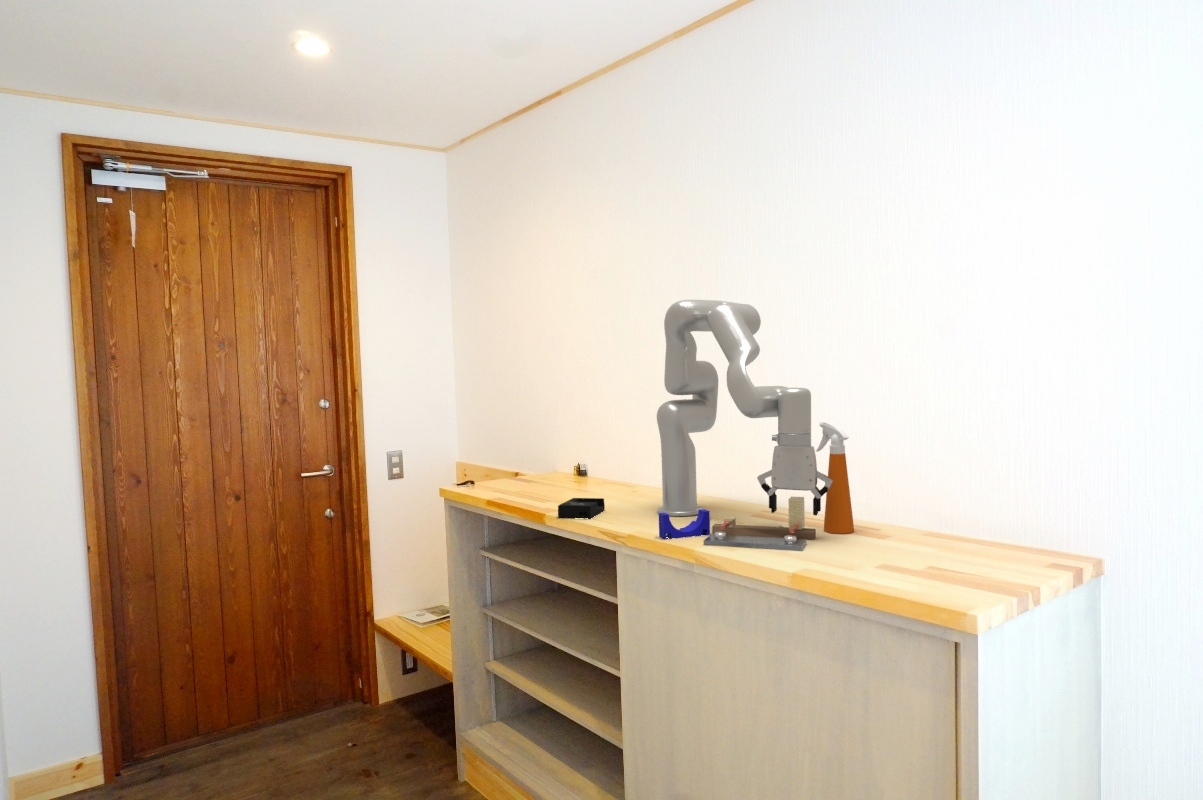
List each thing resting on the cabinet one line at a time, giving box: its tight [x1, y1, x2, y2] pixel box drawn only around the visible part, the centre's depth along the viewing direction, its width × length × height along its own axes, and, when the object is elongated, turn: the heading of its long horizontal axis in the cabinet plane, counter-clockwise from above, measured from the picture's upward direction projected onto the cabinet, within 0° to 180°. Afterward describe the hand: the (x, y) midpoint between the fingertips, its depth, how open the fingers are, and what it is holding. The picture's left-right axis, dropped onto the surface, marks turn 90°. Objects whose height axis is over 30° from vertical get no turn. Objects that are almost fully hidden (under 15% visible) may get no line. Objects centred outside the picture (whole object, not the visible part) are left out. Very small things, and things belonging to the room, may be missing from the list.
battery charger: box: [557, 497, 606, 520], centre depth 221 cm, size 13×10×4 cm
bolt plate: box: [703, 532, 808, 552], centre depth 178 cm, size 7×22×2 cm, turn 67°
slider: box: [787, 496, 806, 533], centre depth 180 cm, size 10×3×7 cm, turn 157°
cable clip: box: [658, 508, 711, 541], centre depth 189 cm, size 12×4×6 cm, turn 107°
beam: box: [711, 516, 817, 541], centre depth 184 cm, size 10×24×4 cm, turn 67°
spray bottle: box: [815, 421, 855, 535], centre depth 190 cm, size 7×11×26 cm, turn 25°
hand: (794, 513), depth 184 cm, fingers open, 9 cm apart
